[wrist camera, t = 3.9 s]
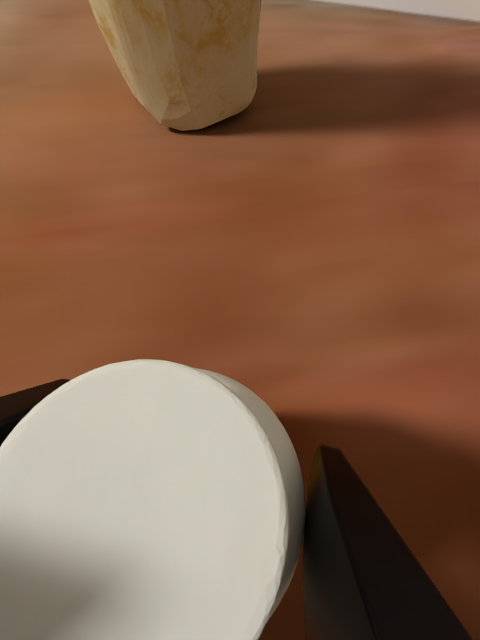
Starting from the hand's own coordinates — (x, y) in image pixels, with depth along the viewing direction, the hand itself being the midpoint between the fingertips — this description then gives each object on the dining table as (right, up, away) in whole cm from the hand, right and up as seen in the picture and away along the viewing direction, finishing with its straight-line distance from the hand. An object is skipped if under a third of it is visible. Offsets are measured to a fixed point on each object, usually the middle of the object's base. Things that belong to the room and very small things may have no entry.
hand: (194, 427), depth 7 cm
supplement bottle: (0, -4, +6) cm, 7 cm away
